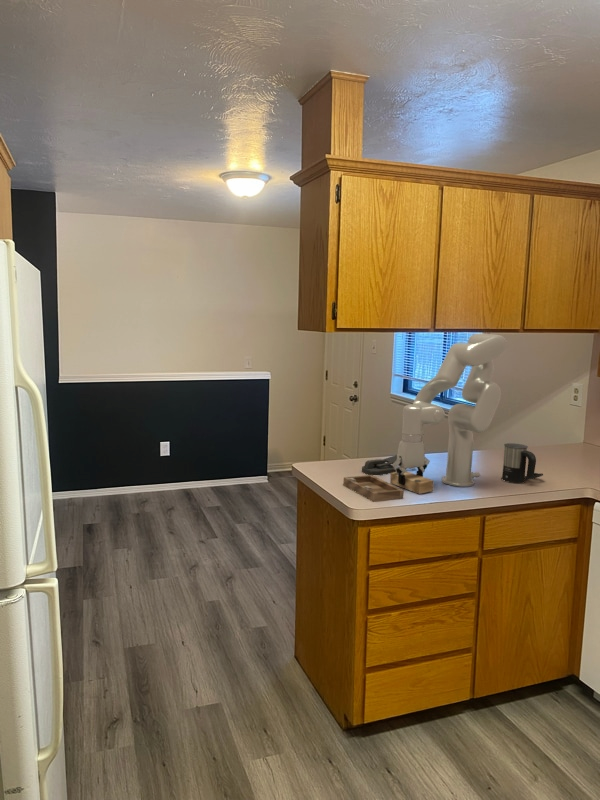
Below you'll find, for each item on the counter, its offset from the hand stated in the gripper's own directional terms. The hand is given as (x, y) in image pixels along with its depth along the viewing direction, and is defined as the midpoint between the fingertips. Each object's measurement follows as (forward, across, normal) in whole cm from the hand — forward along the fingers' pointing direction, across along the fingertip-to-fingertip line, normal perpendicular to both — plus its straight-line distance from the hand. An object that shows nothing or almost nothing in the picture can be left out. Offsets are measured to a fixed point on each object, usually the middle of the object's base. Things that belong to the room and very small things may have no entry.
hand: (410, 482), depth 230 cm
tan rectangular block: (+1, 0, 0) cm, 2 cm away
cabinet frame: (+1, +17, 0) cm, 17 cm away
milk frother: (+4, -52, +5) cm, 52 cm away
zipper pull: (+2, -6, -24) cm, 25 cm away
